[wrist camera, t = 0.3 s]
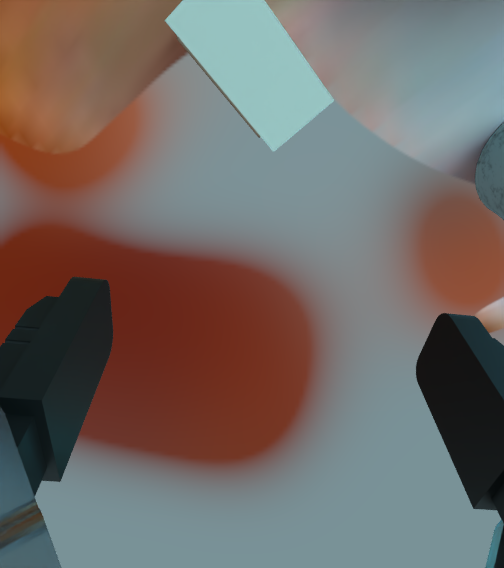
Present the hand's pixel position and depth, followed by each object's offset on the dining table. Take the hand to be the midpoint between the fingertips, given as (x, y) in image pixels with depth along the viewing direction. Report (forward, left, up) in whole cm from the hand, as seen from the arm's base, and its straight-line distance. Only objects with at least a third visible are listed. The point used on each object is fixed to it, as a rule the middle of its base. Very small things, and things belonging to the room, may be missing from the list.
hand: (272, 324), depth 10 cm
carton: (-3, -3, -25) cm, 25 cm away
